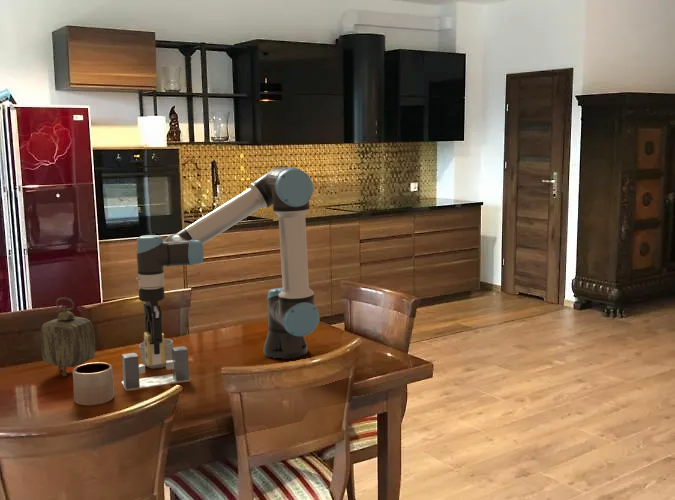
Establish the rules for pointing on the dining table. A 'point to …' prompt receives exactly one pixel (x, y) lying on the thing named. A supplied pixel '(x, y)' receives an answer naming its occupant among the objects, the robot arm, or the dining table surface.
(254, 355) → the dining table surface
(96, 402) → the planter
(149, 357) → the block
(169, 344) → the teacup
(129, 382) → the stand
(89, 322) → the weathered metal cowbell
